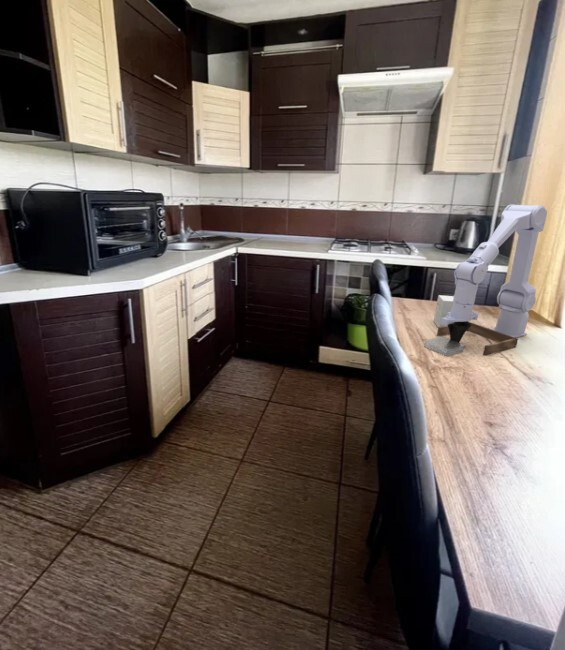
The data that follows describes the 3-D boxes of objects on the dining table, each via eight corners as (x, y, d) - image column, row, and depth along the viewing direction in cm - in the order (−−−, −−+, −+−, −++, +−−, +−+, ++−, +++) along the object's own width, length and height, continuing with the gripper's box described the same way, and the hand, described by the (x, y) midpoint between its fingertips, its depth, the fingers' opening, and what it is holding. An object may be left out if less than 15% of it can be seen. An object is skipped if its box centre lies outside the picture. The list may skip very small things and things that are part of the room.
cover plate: (441, 343, 112) (442, 336, 111) (463, 352, 105) (464, 345, 105) (423, 347, 109) (425, 340, 108) (445, 357, 102) (447, 349, 101)
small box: (454, 329, 124) (460, 301, 120) (437, 328, 125) (443, 300, 121) (448, 322, 131) (454, 295, 127) (433, 321, 132) (438, 294, 128)
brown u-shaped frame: (466, 329, 124) (467, 321, 123) (515, 347, 110) (518, 338, 109) (436, 335, 118) (438, 327, 117) (485, 355, 103) (487, 346, 102)
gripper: (467, 296, 111) (458, 335, 115) (435, 301, 104) (428, 342, 109) (488, 302, 105) (477, 343, 110) (456, 307, 98) (447, 350, 103)
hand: (454, 343), depth 109 cm, fingers closed
